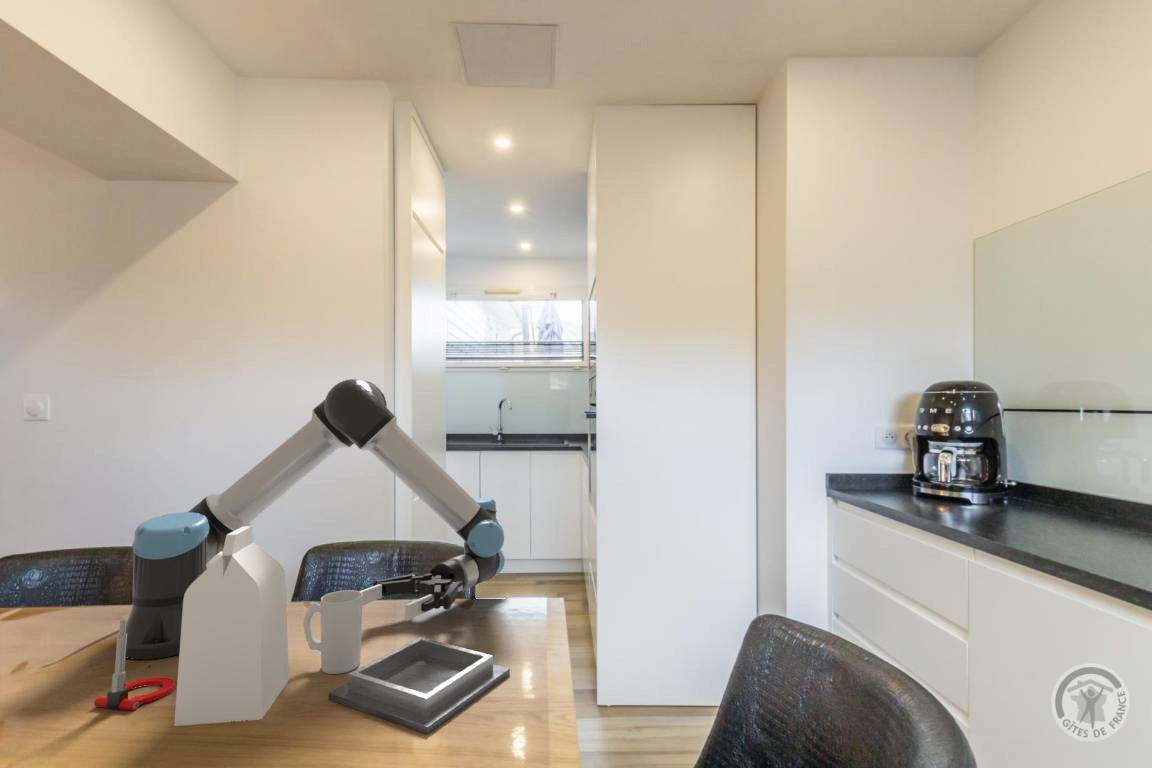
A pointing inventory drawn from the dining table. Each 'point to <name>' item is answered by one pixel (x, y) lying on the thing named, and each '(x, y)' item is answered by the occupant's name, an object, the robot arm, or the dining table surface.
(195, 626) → the milk
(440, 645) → the grey shallow square tray
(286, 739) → the dining table surface
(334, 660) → the mug
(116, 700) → the tow hook
